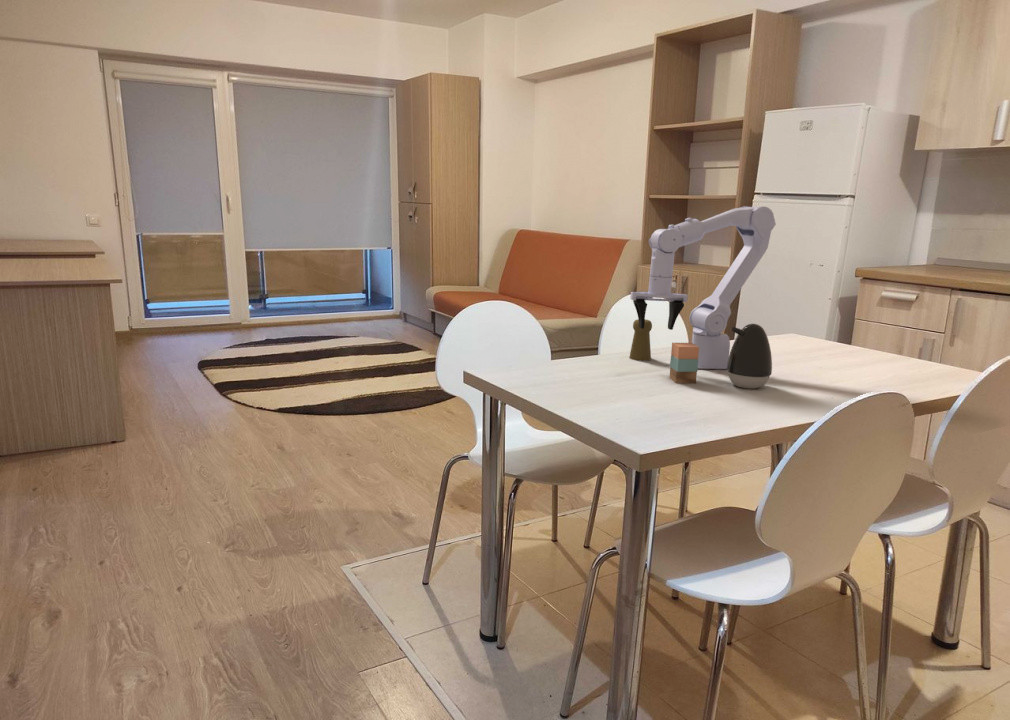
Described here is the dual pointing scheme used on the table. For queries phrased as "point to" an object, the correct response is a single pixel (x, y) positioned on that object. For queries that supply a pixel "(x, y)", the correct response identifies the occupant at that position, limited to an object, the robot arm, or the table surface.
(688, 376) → the walnut slab
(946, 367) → the table surface
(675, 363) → the teal slab
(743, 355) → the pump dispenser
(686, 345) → the orange block
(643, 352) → the olive upright rounded piece
